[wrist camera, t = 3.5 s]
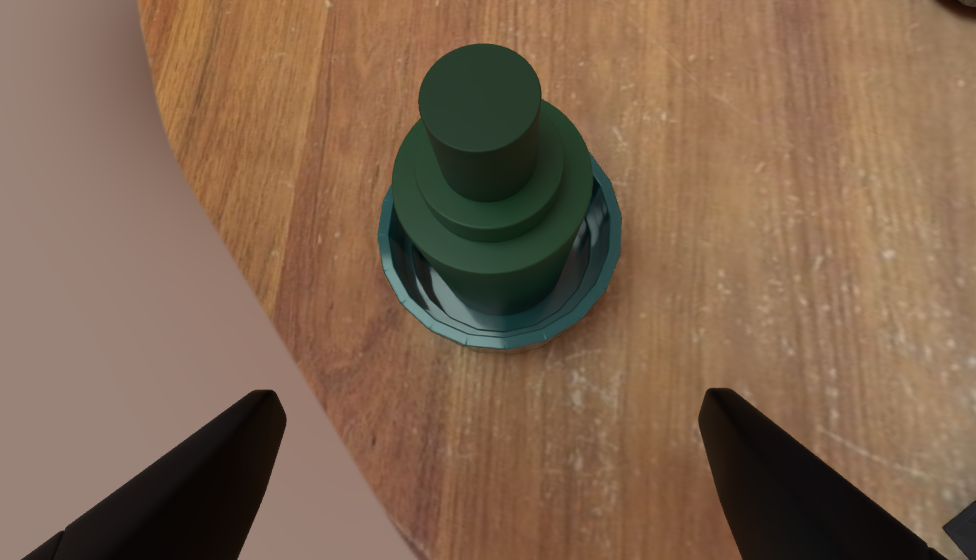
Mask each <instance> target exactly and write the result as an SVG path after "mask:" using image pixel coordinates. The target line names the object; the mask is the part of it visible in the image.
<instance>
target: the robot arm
mask: <svg viewBox="0 0 976 560" xmlns="http://www.w3.org/2000/svg"><path fill="white" fill-rule="evenodd" d="M286 421H287V420H286V414H285V411H284V409H283V407H282V405H281V403H280V400H279V398H278V396H277V394H276V392H274V391H273V390H254V391H252V392H250V393H248V394H247V395H246V396H244V397H243V398H242V399H240V400H239V401H238V402H236V403H235V404H233V405H232V406H231V407H229V408H228V409H227V410H225V411H224V412H223V413H221V414H220V415H218V416H217V417H216V418H214V419H213V420H212V421H210V422H209V423H208V424H206V425H205V426H203V427H202V428H201V429H199V430H198V431H197V432H195V433H194V434H192V435H191V436H190V437H188V438H187V439H186V440H184V441H183V442H182V443H180V444H179V445H178V446H176V447H175V448H173V449H172V450H171V451H169V452H168V453H166V454H165V455H164V456H162V457H161V458H160V459H158V460H157V461H156V462H154V463H153V464H152V465H150V466H149V467H147V468H146V469H145V470H143V471H142V472H141V473H139V474H138V475H136V476H135V477H134V478H133V479H131V480H130V481H128V482H127V483H126V484H124V485H123V486H122V487H120V488H119V489H117V490H116V491H115V492H113V493H112V494H110V495H109V496H108V497H107V498H105V499H104V500H102V501H101V502H100V503H98V504H97V505H95V506H94V507H93V508H91V509H90V510H89V511H87V512H86V513H84V514H83V515H82V516H80V517H79V518H78V519H76V520H75V521H74V522H72V523H71V524H69V525H68V526H67V527H66V528H65V531H60V532H58V533H57V534H56V535H54V536H53V537H52V538H50V539H49V540H47V541H46V542H45V543H43V544H42V545H41V546H39V547H38V548H37V549H35V550H34V551H32V552H31V553H30V554H28V555H27V556H25V557H24V558H23V559H21V560H237V559H238V557H239V554H240V552H241V549H242V547H243V545H244V542H245V540H246V538H247V535H248V533H249V531H250V528H251V526H252V523H253V521H254V519H255V516H256V514H257V511H258V509H259V507H260V504H261V502H262V499H263V497H264V494H265V491H266V488H267V485H268V482H269V479H270V476H271V473H272V469H273V466H274V463H275V459H276V456H277V453H278V450H279V447H280V444H281V440H282V437H283V434H284V431H285V427H286ZM698 422H699V428H700V432H701V435H702V439H703V443H704V446H705V450H706V453H707V457H708V461H709V464H710V468H711V472H712V475H713V479H714V483H715V486H716V490H717V493H718V496H719V500H720V503H721V505H722V508H723V511H724V514H725V516H726V519H727V521H728V524H729V526H730V529H731V532H732V534H733V537H734V539H735V542H736V544H737V547H738V549H739V552H740V554H741V557H742V559H743V560H948V559H946V558H945V557H944V556H943V555H941V554H940V553H939V552H937V551H936V550H935V549H934V548H931V547H928V546H927V543H926V542H925V541H923V540H922V539H921V538H920V537H918V536H917V535H916V534H914V533H913V532H912V531H911V530H909V529H908V528H907V527H906V526H904V525H903V524H902V523H901V522H899V521H898V520H897V519H895V518H894V517H893V516H892V515H890V514H889V513H888V512H887V511H885V510H884V509H883V508H882V507H880V506H879V505H878V504H876V503H875V502H874V501H873V500H871V499H870V498H869V497H868V496H866V495H865V494H864V493H863V492H861V491H860V490H859V489H858V488H856V487H855V486H854V485H852V484H851V483H850V482H849V481H847V480H846V479H845V478H844V477H842V476H841V475H840V474H839V473H837V472H836V471H835V470H833V469H832V468H831V467H830V466H828V465H827V464H826V463H825V462H823V461H822V460H821V459H820V458H818V457H817V456H816V455H814V454H813V453H812V452H811V451H809V450H808V449H807V448H806V447H804V446H803V445H802V444H801V443H799V442H798V441H797V440H796V439H794V438H793V437H792V436H790V435H789V434H788V433H787V432H785V431H784V430H783V429H782V428H780V427H779V426H778V425H777V424H775V423H774V422H773V421H771V420H770V419H769V418H768V417H766V416H765V415H764V414H763V413H761V412H760V411H759V410H758V409H756V408H755V407H754V406H753V405H751V404H750V403H749V402H747V401H746V400H745V399H744V398H742V397H741V396H740V395H739V394H737V393H736V392H735V391H733V390H732V389H729V388H709V389H708V390H707V391H706V393H705V396H704V399H703V403H702V406H701V409H700V412H699V417H698Z"/></svg>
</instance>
